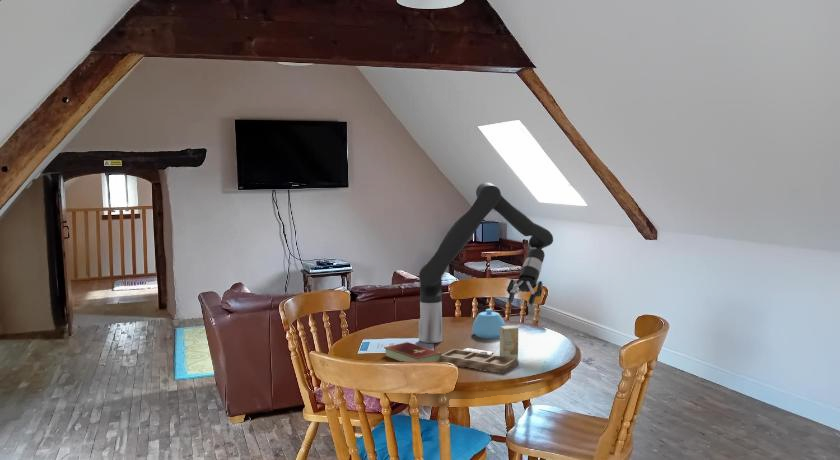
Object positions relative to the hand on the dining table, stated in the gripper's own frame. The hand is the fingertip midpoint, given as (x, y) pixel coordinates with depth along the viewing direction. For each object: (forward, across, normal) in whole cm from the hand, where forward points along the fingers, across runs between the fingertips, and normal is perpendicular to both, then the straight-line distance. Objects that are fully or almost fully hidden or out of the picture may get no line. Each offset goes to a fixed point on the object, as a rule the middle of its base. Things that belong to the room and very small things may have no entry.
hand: (520, 302), depth 257 cm
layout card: (+24, -13, +3) cm, 27 cm away
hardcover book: (+36, -31, -10) cm, 49 cm away
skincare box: (+23, +1, +4) cm, 24 cm away
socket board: (+32, -6, -6) cm, 33 cm away
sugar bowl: (+3, -22, +24) cm, 32 cm away
